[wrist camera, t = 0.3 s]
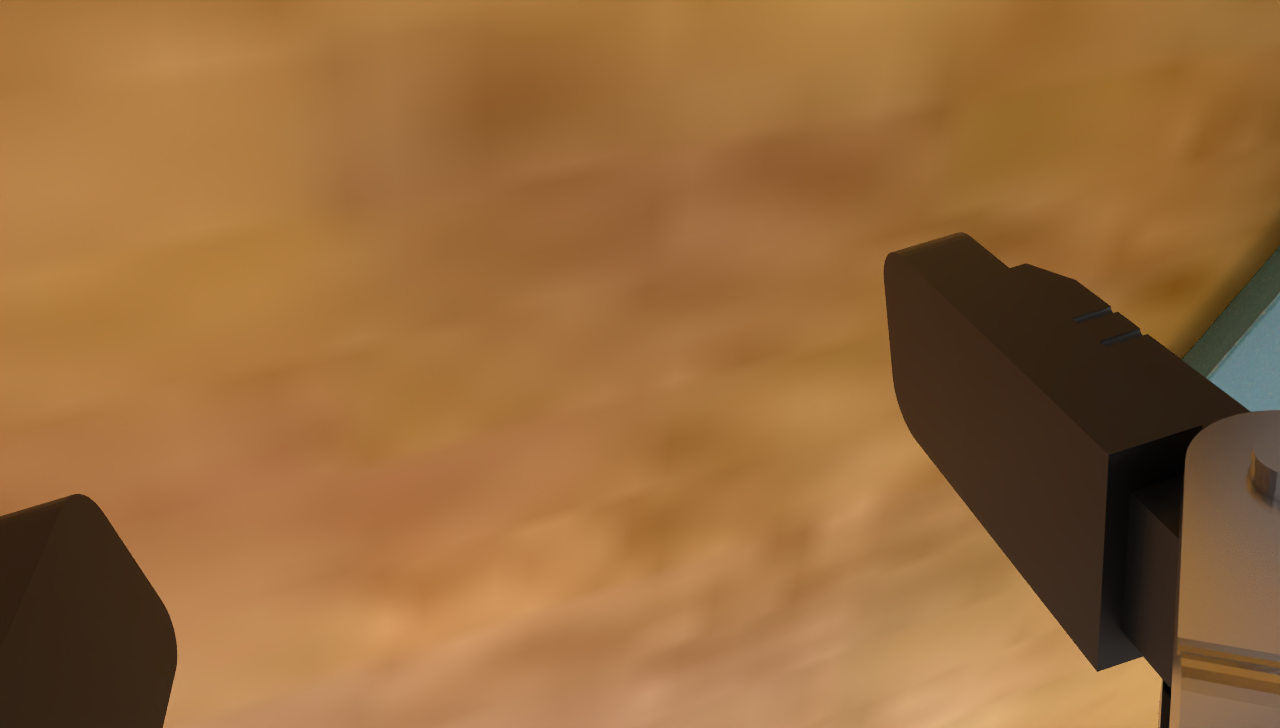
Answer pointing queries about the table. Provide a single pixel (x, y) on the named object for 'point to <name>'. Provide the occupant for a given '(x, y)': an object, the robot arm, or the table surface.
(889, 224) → the table surface
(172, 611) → the table surface
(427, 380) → the table surface
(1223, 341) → the teal serving tray
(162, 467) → the table surface
